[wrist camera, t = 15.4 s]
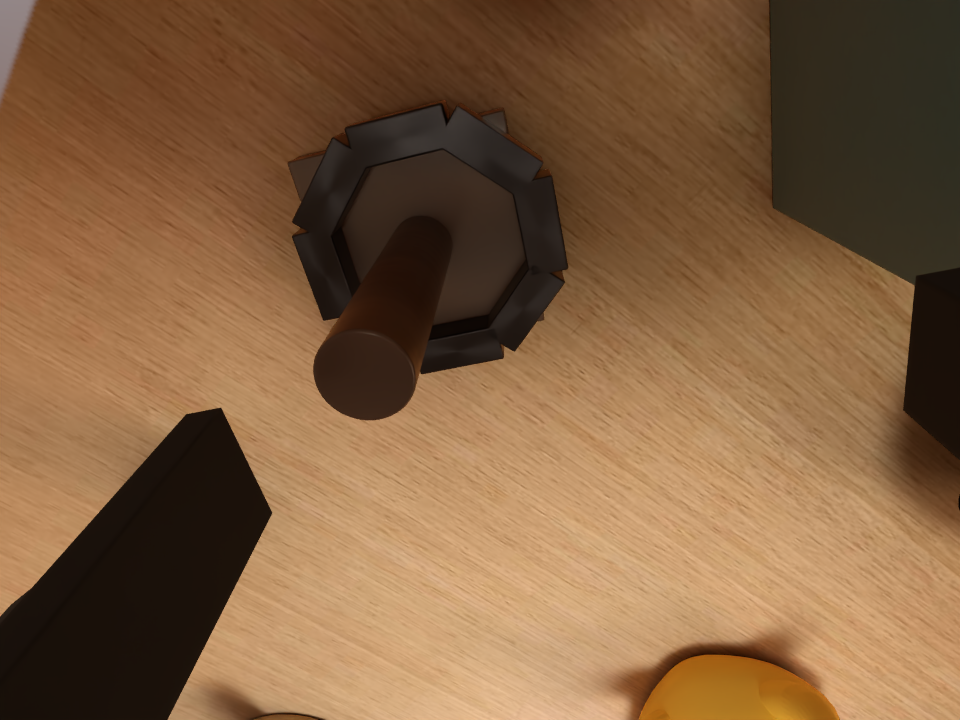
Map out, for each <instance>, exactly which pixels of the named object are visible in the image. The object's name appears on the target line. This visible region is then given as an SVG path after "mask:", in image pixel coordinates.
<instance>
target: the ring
mask: <svg viewBox="0 0 960 720" xmlns="http://www.w3.org/2000/svg"><path fill="white" fill-rule="evenodd" d="M345 133H346V134H344V133H341V134H339V135H337V136H335V137H333V138H332V139H331V141H330V143H329V145H328V147H327V149H326V151H325V154H324V156H323V158H322V160H321V162H320V164H319V166H318V168H317V170H316V172H315V175H314V177H313V179H312V181H311V183H310V185H309V187H308V189H307V191H306V193H305V195H304V198H303V200H302V202H301V204H300V206H299V208H298V210H297V212H296V214H295V216H294V219H293V221H292V222H293V223H294V224H296V225H297V226H299V227H301V229H300V230H299V231H298V232H296V233H295V234H294V235H293V236H292V238H293V241H294V244H295V246H296V249H297V252H298V254H299V257H300V260H301V262H302V265H303V268H304V270H305V273H306V276H307V278H308V281H309V284H310V286H311V289H312V292H313V294H314V297H315V300H316V302H317V305H318V308H319V310H320V313H321V316H322V318H323V320H324V321H325V320H330V319H335V318H339V317H340V315H341V314H342V312H343V311H344V309H345V308H346V306H347V305H348V303H349V301H350V300H351V298H352V297H353V295H354V294H355V292H356V291H357V289H358V287H359V286H360V282H359V280H358V277H357V274H356V271H355V268H354V265H353V262H352V259H351V256H350V253H349V250H348V247H347V244H346V241H345V238H344V235H343V232H342V229H341V225H342V223H343V221H344V219H345V218H346V216H347V214H348V212H349V210H350V208H351V206H352V204H353V202H354V200H355V198H356V196H357V194H358V192H359V190H360V189H361V187H362V185H363V183H364V181H365V179H366V177H367V175H368V173H369V171H370V169H371V167H375V166H379V165H383V164H387V163H391V162H395V161H399V160H403V159H408V158H412V157H416V156H420V155H424V154H428V153H432V152H436V151H440V150H445V151H447V152H448V153H450V154H451V155H453V156H454V157H456V158H457V159H459V160H460V161H462V162H464V163H465V164H467V165H468V166H470V167H471V168H473V169H474V170H476V171H478V172H479V173H481V174H482V175H484V176H485V177H487V178H488V179H490V180H491V181H493V182H495V183H496V184H498V185H499V186H501V187H502V188H504V189H505V190H507V191H508V192H510V193H512V194H513V199H514V204H515V208H516V213H517V218H518V223H519V228H520V232H521V237H522V242H523V247H524V252H525V257H526V260H525V262H524V263H523V265H522V266H521V268H520V269H519V271H518V272H517V274H516V275H515V277H514V278H513V279H512V281H511V282H510V284H509V285H508V287H507V288H506V290H505V291H504V293H503V294H502V296H501V297H500V299H499V300H498V302H497V303H496V304H495V306H494V307H493V309H492V310H491V312H490V313H489V315H484V316H479V317H474V318H469V319H464V320H460V321H455V322H450V323H445V324H440V325H435V326H432V328H431V332H430V336H429V339H428V343H427V347H426V350H425V354H424V358H423V362H422V365H421V369H420V373H421V374H426V373H431V372H436V371H442V370H447V369H452V368H457V367H462V366H467V365H472V364H478V363H483V362H488V361H493V360H498V359H503V358H504V346H505V347H507V348H509V349H510V350H512V351H514V352H515V351H516V350H517V348H518V347H519V345H520V344H521V343H522V341H523V340H524V338H525V337H526V336H527V334H528V333H529V332H530V330H531V329H532V327H533V326H534V325H535V323H536V322H537V320H538V319H539V318H540V316H541V315H542V314H543V312H544V311H545V309H546V308H547V307H548V305H549V304H550V303H551V301H552V300H553V298H554V297H555V296H556V294H557V293H558V291H559V290H560V289H561V287H562V286H563V285H564V283H565V281H564V277H563V273H562V270H567V269H568V263H567V257H566V252H565V246H564V240H563V235H562V229H561V223H560V218H559V212H558V206H557V201H556V195H555V189H554V184H553V178H552V175H551V172H550V170H549V169H546V170H541V171H539V170H540V168H541V167H542V165H543V160H542V158H541V156H540V155H538V154H537V153H535V152H534V151H532V150H531V149H529V148H528V147H526V146H525V145H523V144H522V143H520V142H519V141H517V140H516V139H514V138H513V137H511V136H510V135H508V134H507V133H505V132H504V131H502V130H501V129H499V128H498V127H496V126H495V125H493V124H492V123H490V122H489V121H487V120H486V119H484V118H483V117H481V116H480V115H478V114H477V113H475V112H474V111H472V110H471V109H469V108H468V107H466V106H465V105H463V104H462V103H459V104H458V105H457V106H456V108H455V110H454V112H453V113H452V115H451V117H450V115H449V111H448V107H447V102H446V101H444V100H443V101H439V102H435V103H431V104H427V105H424V106H420V107H416V108H412V109H408V110H404V111H400V112H396V113H392V114H388V115H384V116H381V117H377V118H373V119H369V120H365V121H361V122H357V123H354V124H351V125H349V126H347V127H345Z"/></svg>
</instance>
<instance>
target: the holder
mask: <svg viewBox="0 0 960 720" xmlns="http://www.w3.org/2000/svg"><path fill="white" fill-rule="evenodd" d="M478 115H480V116H481V117H483V118H484V119H486V120H487V121H489V122H490V123H492V124H493V125H495V126H496V127H498V128H499V129H501V130H502V131H504V132H505V133H507V134H508V135H509V132H508V127H507V122H506V116H505V111H504V108H499V109H495V110H491V111H487V112H483V113H479V114H478ZM324 154H325V151H322V152H318V153H314V154H310V155H306V156H302V157H298V158H296V159H294V160H292V161H290V162H288V166H289V169H290V172H291V175H292V178H293V180H294V183H295V186H296V189H297V192H298V195H299V197H300V200H301V202H302V200H303V198H304V195H305V193H306V191H307V189H308V187H309V185H310V183H311V181H312V179H313V177H314V175H315V172H316V170H317V168H318V166H319V164H320V162H321V160H322V158H323V156H324ZM341 229H342V232H343V235H344V238H345V241H346V244H347V247H348V250H349V253H350V256H351V259H352V262H353V265H354V268H355V271H356V274H357V277H358V280H359V282H360V286H359V287H358V289H357V291H356V292H355V294H354V295H353V297H352V298H351V300H350V301H349V303H348V305H347V306H346V308H345V309H344V311H343V312H342V314H341V315H340V317H339V319H338V320H337V322H336V323H335V325H334V326H333V328H332V330H331V331H330V333H329V334H328V336H327V337H326V339H325V340H324V342H323V344H322V345H321V347H320V348H319V350H318V352H317V354H316V356H315V360H314V366H313V374H314V379H315V383H316V386H317V388H318V390H319V392H320V394H321V395H322V397H323V398H324V399H325V400H326V402H327V403H328V404H329V405H331V406H332V407H333V408H334V409H336V410H337V411H339V412H340V413H342V414H344V415H347V416H349V417H352V418H356V419H360V420H379V419H383V418H386V417H389V416H391V415H393V414H395V413H397V412H399V411H400V410H401V409H403V408H404V407H405V406H406V405H407V403H408V402H409V401H410V399H411V397H412V396H413V393H414V391H415V387H416V384H417V380H418V376H419V373H420V369H421V365H422V362H423V358H424V354H425V350H426V347H427V343H428V339H429V336H430V332H431V328H432V326H435V325H440V324H445V323H450V322H455V321H460V320H464V319H469V318H474V317H479V316H484V315H489V313H490V312H491V310H492V309H493V307H494V306H495V304H496V303H497V302H498V300H499V299H500V297H501V296H502V294H503V293H504V291H505V290H506V288H507V287H508V285H509V284H510V282H511V281H512V279H513V278H514V277H515V275H516V274H517V272H518V271H519V269H520V268H521V266H522V265H523V263H524V262H525V260H526V257H525V252H524V247H523V242H522V237H521V232H520V228H519V223H518V218H517V213H516V208H515V204H514V199H513V194H512V193H510V192H508V191H507V190H505V189H504V188H502V187H501V186H499V185H498V184H496V183H495V182H493V181H491V180H490V179H488V178H487V177H485V176H484V175H482V174H481V173H479V172H478V171H476V170H474V169H473V168H471V167H470V166H468V165H467V164H465V163H464V162H462V161H460V160H459V159H457V158H456V157H454V156H453V155H451V154H450V153H448V152H447V151H445V150H440V151H436V152H432V153H428V154H424V155H420V156H416V157H412V158H408V159H403V160H399V161H395V162H391V163H387V164H383V165H379V166H375V167H371V169H370V171H369V173H368V175H367V177H366V179H365V181H364V183H363V185H362V187H361V189H360V190H359V192H358V194H357V196H356V198H355V200H354V202H353V204H352V206H351V208H350V210H349V212H348V214H347V216H346V218H345V219H344V221H343V223H342V225H341ZM542 320H544V313H543V314H542V315H541V316H540V318H539V319H538V320H537V321H542Z"/></svg>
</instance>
